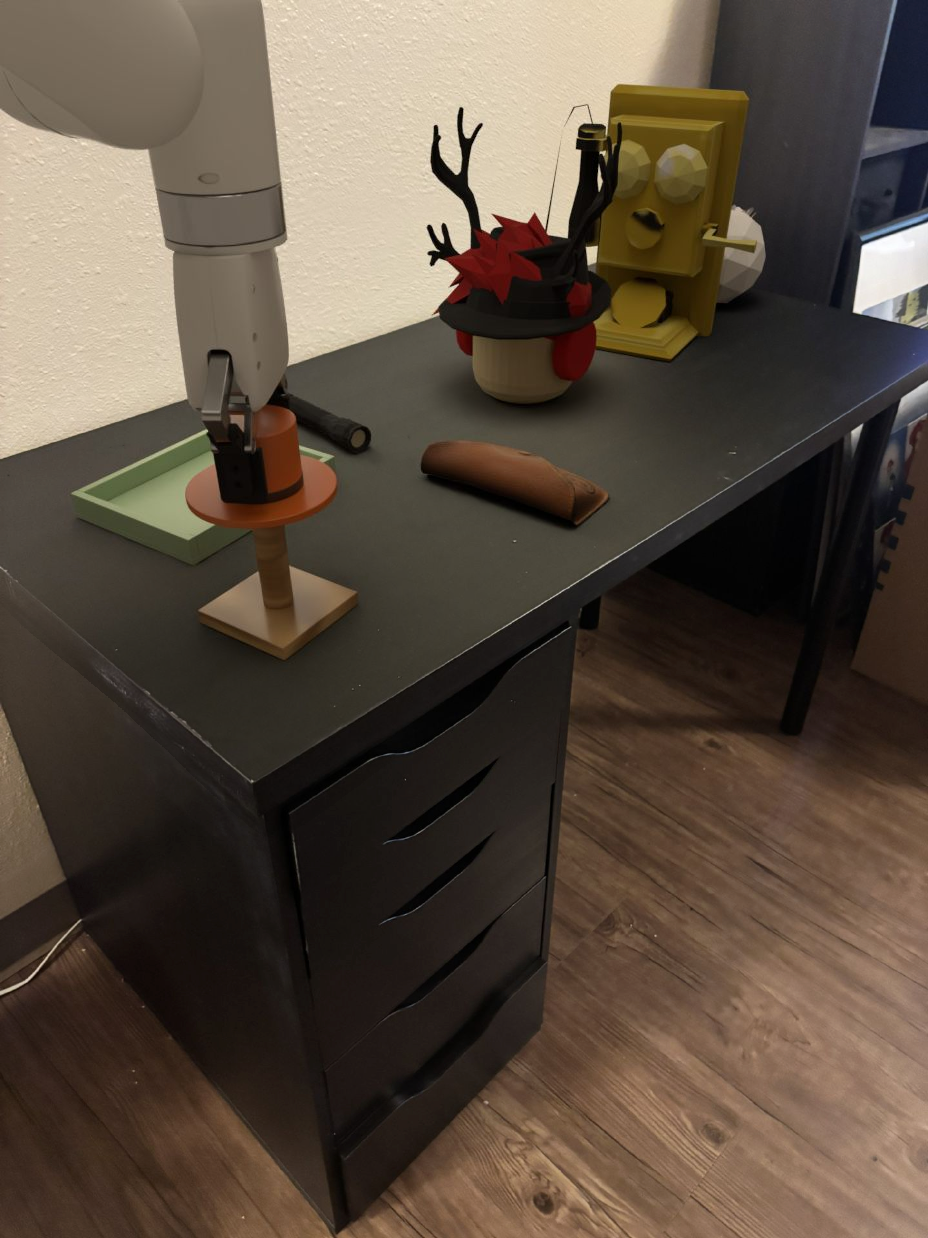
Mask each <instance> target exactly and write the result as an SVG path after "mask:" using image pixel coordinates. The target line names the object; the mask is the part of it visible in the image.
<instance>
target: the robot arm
mask: <svg viewBox="0 0 928 1238" xmlns="http://www.w3.org/2000/svg"><path fill="white" fill-rule="evenodd" d="M262 2H263V1H262V0H0V110H1V111H3V112H4V113H5V114H7V115H8V116H10V117H11V118H12V119H14V120H16V121H18V122H20V123H21V124H23V125H26V126H28V127H31V128H33V129H36V130H37V131H38V130H39V131H42V132H45V133H49V134H53V135H58V136H61V137H65V138H69V139H77V140H84V141H87V142H92V143H96V144H99V145H102V146H106V147H110V148H114V149H119V150H125V151H135V152H137V151H147V152H148V159H149V162H150V163H149V164H150V169H151V176H152V180H153V187H154V191H155V197H156V202H157V208H158V213H159V219H160V225H161V229H162V230H161V231H162V235H163V241H164V246H165V247H166V249H168V250H170V251H172V252H173V253H172V277H173V278H172V280H173V295H174V306H175V317H176V325H177V335H178V341H179V348H180V356H181V365H182V370H183V378H184V383H185V391H186V396H187V398H186V399H187V403H188V404H189V406H190V408H191V409H192V410H194V411H196V412H201V413H200V416H201V421H202V423H203V425H204V426H205V428H206V429H207V430H208V432H206V433H207V437H209V440H210V448H211V451H212V453H213V456H214V462H215V467H216V473H217V479H218V485H219V490H220V496H221V500H222V501H223V502H225V503H239V504H265V503H266V502H267V500H268V497H269V495H268V488H267V481H266V473H265V466H264V459H263V452H262V447H256V432H257V411H259V410H260V409H261V408H262V407H263V406H265V405H274V406H279V407H283V408H286V409H288V410H290V411H291V408H290V399H289V397H286V396H281V395H287V393H289V384H288V383H289V382H288V379H287V376H286V373H285V372H286V371H287V368H288V364H289V361H290V360H289V359H290V349H289V348H290V345H289V333H288V332H289V331H288V323H287V322H288V321H287V314H286V307H285V300H284V292H283V285H282V279H281V272H280V266H279V257H278V256H277V255H278V254H277V248H276V247H280V246H282V245H284V244H285V243H286V242H287V241H288V227H287V220H286V210H285V203H284V202H285V201H284V192H283V183H282V175H281V165H280V156H279V146H278V136H277V128H276V117H275V108H274V107H275V106H274V100H273V91H272V89H273V88H272V81H271V80H272V79H271V72H270V71H271V70H270V61H269V51H268V42H267V33H266V22H265V15H264V9H263V8H264V7H263V3H262ZM231 397H243V398H244V400H245V402H230V399H231ZM230 415H244V433H243V431H242V430H241V429H240V427H239V426H238V425H237V424H236V423H231V417H230Z"/></svg>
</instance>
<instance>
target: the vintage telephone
mask: <svg viewBox="0 0 928 1238" xmlns="http://www.w3.org/2000/svg"><path fill="white" fill-rule="evenodd" d="M749 103H750V98H749V97H748V95H747V94H746V92H745V91H744V90H733V89H732V90H731V89H730V90H729V89H716V88H715V89H714V88H713V89H712V88H697V87H695V88H694V87H681V86H679V87H677V86H662V85H661V86H660V85H644V84H626V83H618V84H616V85H615V86H614V87H613V88H612V89H611V90H610V96H609V106H608V107H609V108H608V118H607V126H606V125H605V124H603V123H594V122H593V117H592V114H591V109H590V106H589V104H588V103H585V104H581V105H577V106H573V107H572V109H571V111H570V113H569V115H568V118H567V120H566V121H565V124H564V126H566V125H567V123H568V121H569V119H570V117H571V116H572V114H573V112H574V110H575V109H576V108H580V107H585V106H587V110H588V113H589V114H588V115H589V118H590V122H591V123H586V122H583V123H582V124H580V125H579V126H578V128H577V137H576V139H575V150H577V151H580V160H579V173H578V175H579V176H578V183H577V187H576V191H575V195H574V199H573V201H572V206H571V210H570V214H569V218H568V223H567V225H568V227H567V238H569V239H572V238H573V236H574V234H575V232H576V230H577V228H578V226H579V224H580V222H581V220H582V218H583V216H584V214H585V212H586V211H587V210H588V209H589V208H590V207H591V206H592V204H593V202H594V200H595V198H596V196H597V195H598V193H599V191H600V187H599V179H598V178H599V170H600V167H599V157H598V156H599V154H601V153H603V152H605V154H603V156H604V159H605V163H606V165H607V160H608V147H607V138H606V137H607V136H610V138H611V141H612V154H613V150H614V146H615V145H616V144H617V125H618V123H619V122H620V123H621V125H622V142H621V147H620V152H619V164H618V185H617V188H616V190H615V193H614V195H613V199H612V203H611V204H610V205H609V206H608V207H607V208H606V209H605V211H604V212H603V213H602V215H601V216H600V217H599V218H598V219H597V220H596V221H595V223H594V224H593V226H592V227H591V228H590V230H589V231H588V233H587V235H586V237H585V243H586V248H592V247H593V248H594V247H597V248H596V251H597V252H596V259H595V260H596V261H595V272H594V273H595V274H597V275H598V276H600V277H602V278H603V279H605V280H606V281H607V282H608V284H609V286H610V287H611V289H612V294H611V301H610V305H609V307H608V308H607V309H606V310H605V311H604V313H603V314H602V315H601V316H600V318H599V319H597V320H596V321H594V324H595V328H596V347H595V350H602V351H607V352H613V353H618V354H624V355H629V356H635V357H639V358H640V357H641V358H645V359H651V360H655V361H656V360H658V361H661V362H669V363H670V362H671V361H672V360H673V359H674V358H675V357H676V356H677V355H678V354H680V352H681V351H682V350H683V349H684V348H685V347H687V346H688V344H689V343H690V342H691V341H693V340H694V339H695V338H696V337H710V336H711V335H712V333H713V332H712V331H713V327H714V326H713V325H714V318H715V313H716V306H717V303H716V301H717V295H718V289H719V283H720V276H721V270H722V264H723V258H724V252H725V247H730V248H734V249H738V250H742V251H746V252H750V253H754V252H755V250H756V245H757V241H752V240H729V239H727V233H728V227H729V221H730V215H731V209H732V206H733V202H734V196H735V189H736V183H737V178H738V171H739V165H740V160H741V154H742V153H741V152H742V147H743V141H744V135H745V127H746V123H747V116H748V109H749ZM563 130H564V129H562V132H563ZM562 136H563V135H561V138H562ZM561 143H562V141H560V144H559V145H561ZM560 150H561V146H559V149H558V151H560ZM559 156H560V152H558V154H557V160H556V165H555V170H554V175H553V182H552V187H551V193H550V199H549V206H548V211H547V217H546V223H545V227H544V229H545V231H546V232H547V233H548V227H549V221H550V216H551V215H550V214H551V210H552V209H551V207H552V203H553V202H552V201H553V195H554V188H555V182H556V177H557V175H556V174H557V169H558V163H559ZM600 179H601V180H602V177H601V176H600Z"/></svg>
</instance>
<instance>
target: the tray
mask: <svg viewBox="0 0 928 1238" xmlns="http://www.w3.org/2000/svg"><path fill="white" fill-rule="evenodd" d="M206 432H208V430H207V428H206V429H203V430H201V431H200V432H198V433H195V434H193V435H191V436H188V437H187V438H185V439H183V440H180V441H178V442H176V443H174V444H172V445H170V446H168V447H165V448H164V449H161V450H159V451H157V452H155V453H153V454H151V455H149V456H147V457H145V458H143V459H140V460H139V461H138V460H137V461H136V462H133V463H132V464H129V465H128V466H125V467H123V468H122V469H119V470H117V471H115V472H113V473H111V474H109V475H108V474H107V476H104V477H102V478H100V479H98V480H95V481H94V482H91V483H90V484H88V485H85V486H83V487H81V488H79V489H77V490H75V491H73V492H71V493H70V496H71V500H72V503H73V507H74V511H75V514H76V517H77V518H78V519H80V520H83V521H84V522H88V523H90V524H92V525H94V526H96V527H99V528H102V529H104V530H107V531H110V532H112V533H114V534H116V535H118V536H121V537H124V538H126V539H129V540H131V541H133V542H136V543H138V544H141V545H143V546H146V547H147V548H150V549H153V550H155V551H158V552H160V553H163V554H164V555H167V556H169V557H172V558H174V559H177V560H179V561H182V562H183V563H187V564H189V565H191V566H195V565H197V564H198V563H200V562H201V561H204V560H205V559H207V558H208V557H211V556H212V555H214V554H215V553H217V552H218V551H220V550H221V549H224V548H225V547H227V546H228V545H230V544H232V543H233V542H235V541H237V540H238V539H240V538H241V537H243V536H245V535H246V534H249V533H250V532H252V529H237V528H228V527H223V526H218V525H214V524H211V523H208V522H206V521H204V520H202V519H200V518H198V517H197V516H195V515H194V514H193V513H192V512H191V510H190V509H189V508H188V505H187V503H186V498H185V491H186V487H187V485H188V483H189V482H190V480H191V479H192V478H193V477H194V476H195V475H196V474H198V473H199V472H201V471H202V470H204V469H205V468H207V467H209V466H211V465H213V464H215V462H214V456H213V453H212V451H211V448H210V440H209V437H207V433H206ZM299 449H300V455H304V456H308V457H311V458H314V459H317V460H319V461H321V462H323V463H325V464H326V465H328V466H329V467H330V468H331V469H332V470H333V471H334V473H335V475H336V476H337V469H336V467H337V466H336V457H335V455H332V454H329V453H325V452H322V451H319V450H315V449H312V448H309V447H306V446H302V445H300V444H299Z"/></svg>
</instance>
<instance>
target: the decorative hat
mask: <svg viewBox="0 0 928 1238" xmlns="http://www.w3.org/2000/svg"><path fill="white" fill-rule="evenodd" d="M464 109H465V108H464V107H462V106H459V107H458V111H457V115H456V116H457V117H456V128H457V136H458V137H457V138H458V144H459V148H460V154H461V166H460V171H459V172H458V173H457V174H456V173H455V172H454V171H453V170H452V169H451V168H450V167H449V166H448V165H447V163H446V162H445V161H444V159H443V158H442V157H441V151H440V141H441V139H442V136H441V135H440V134H439V133H440V132H439V131H440V130H439V125H438V124H434V125H433V133H432V143H431V148H430V160H429V162H430V168H431V173H432V174H433V175H434V176H435V178H436V179H437V180H438V181H439V183H441V184H443V185H444V186H445V187H446V188H447V189H448V190H449V191H451V192H452V193H453V194H454V195H455V196H456V197H457V198H459V200H460V201H462V203H463V206H464V207H465V210H466V212H467V215H468V221H469V226H470V243H469V244H470V248H468V249H467V250H465V251H464V252H462V253H459V251H457V250H456V248H455V247H454V246H453V243H452V240H451V236H450V232H449V228H448V226H447V224H446V223H445V222H442V223H441V225H440V229H441V235H442V238H443V242H441V240H439V238H438V236H437V235H436V233H435V230H434V227H433V226H432V224H430V223H429V224H427V226H426V231H427V233H428V236H429V238H430V241H431V242H432V245H433V247H434V248H435V249H436V250H435V249H432V250H428V251H427V256H430V261H429V266H430V267H435V265H436V263H437V262H438V261H439V260H441V261H445V262H447V263H448V264H449V265H450V266H451V267H452V268H453V269H455V271H456V272H457V273H458V274H457V275H456V277H455V278H454V279H453V281H452V282H451V284H450V285H449V286H448V288H452V287H455V286H456V287H455V288H454V289H452V291H451V292H450V294H449V295H448V296H447V297H446V298H445V299H444V300H443V301H442V302H441V303H440V304H439V305H438V306H437V308H436V310H435V311H433V313H432V314H431V316H434V315H436V314H438V315H439V320H441V321H442V322H443V323H444V324H445V325H447V326H448V327H450V328H451V329H452V330H455V335H456V343H457V346H458V348H459V350H460V351H462V352H463V353H464V354H465V355H466V356H470V357H472V371H473V376H474V380H475V382H476V384H477V385H478V386H479V387H480V389H481V390H482V392H484V393H485V394H487V395H489V396H491V397H493V398H495V399H496V400H499V401H502V402H505V403H511V404H519V405H523V404H524V405H527V404H528V405H529V404H530V405H532V404H539V403H544V402H548V401H550V400H552V399H554V398H557V397H559V396H560V395H563V394H564V393H565V392H566V391H567V389H569V387H570V386H571V385H572V383H573V382H577V381H579V380H580V379H582V378H583V377H584V375H586V373H587V372H588V370H589V368H590V366H591V364H592V363H593V359H594V356H595V352H596V349H595V347H596V328H595V324H594V321H596V320H597V319H599V318H600V316H601V315H602V314H603V313H604V311H605V310H606V309H607V308H608V307H609V305H610V301H611V294H612V289H611V287H610V286H609V284H608V282H607V281H606V280H605V279H603V278H602V277H600V276H598V275H597V274H595V272H594V271H592V270H589V265H588V252H587V247H586V243H585V237H586V235H587V233H588V231H589V230H590V228H591V227H592V226H593V224H594V223H595V221H596V220H597V219H598V218H599V217H600V216H601V215H602V213H603V212H604V211H605V209H606V208H607V207H608V206H609V205H610V204H611V203H612V199H613V195H614V193H615V190H616V188H617V185H618V164H619V152H620V147H621V142H622V125H621V123H620V122H619V123H618V125H617V144H616V145H615V146H614V150H613V154H612V141H611V138H610V136H607V137H606V138H607V147H608V160H607V165H606V163H605V159H604V154H603V153H600V154H599V156H598V157H599V172H600V178H601V177H602V179H601V181H602V182H601V186H600V187H599V193H598V195H597V196H596V198H595V200H594V202H593V204H592V206H591V207H590V208H589V209H588V210H587V211H586V212H585V214H584V216H583V218H582V220H581V222H580V224H579V226H578V228H577V230H576V232H575V234H574V236H573V238H572V239H569V238H568V237H562V236H557V235H551V234H548V231H547V232H546V231H545V227H544V225H543V223H542V222H541V220H540V218H539V217H538V215H537V214H536V212H535V211H534V213H533V214H532V215H531V217H530V219H529V220H528V222H524V221H519V220H516V219H512V218H509V217H505V216H502V215H499V214H495V213H490V215H492V217H493V218H494V219H495V220H496V221H497V222H498V224H499V225H500V226H496V227H493V229H492V230H491V231H490V233H489V232H488V231H486V230H484V229H482V225H481V218H480V211H479V207H478V204H477V201H476V197H475V194H474V193H473V191H472V189H471V188H470V186H469V167H470V166H469V165H470V159H471V152H472V147H473V144H474V143H475V140H476V138H477V137H478V134H479V132H480V131H481V129H482V128H483V126H484V123H483V122H480V123H478V124H477V125H476V127H475V128H474V130H473V132H472V133H471V136H470V137H466V135H465V133H464V126H463V123H464Z"/></svg>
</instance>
